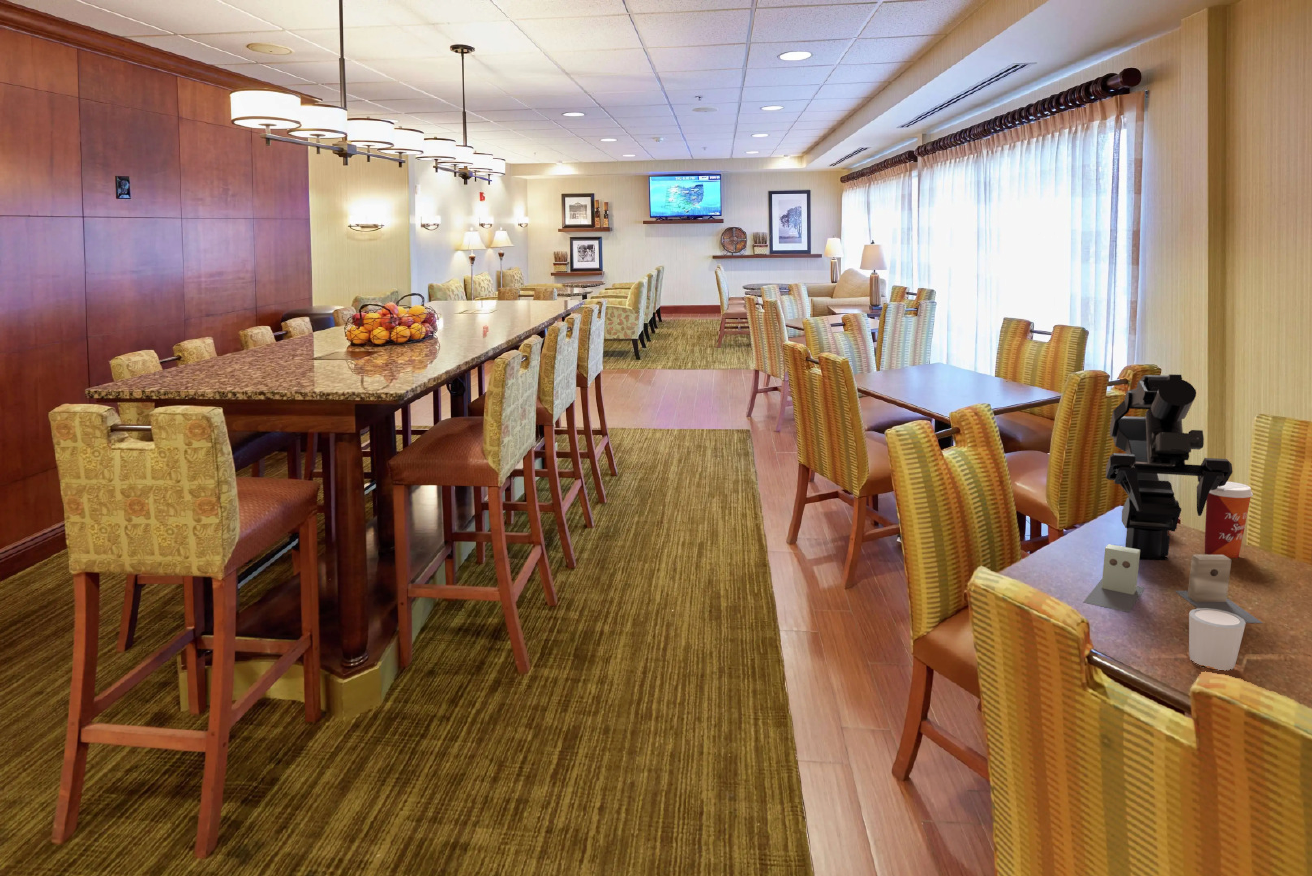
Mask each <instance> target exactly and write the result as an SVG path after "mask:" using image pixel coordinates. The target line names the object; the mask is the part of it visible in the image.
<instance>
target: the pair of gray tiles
mask: <svg viewBox="0 0 1312 876" xmlns="http://www.w3.org/2000/svg"><path fill="white" fill-rule="evenodd" d="M1145 590H1146V587H1145V586H1144V587H1143V586H1140V585H1137V588H1136V591H1135V593H1134V594H1133V595H1132V594H1127V593H1122V592H1118V591H1113V590H1108V589H1103V588H1102V578H1101V579H1100V580H1099V582H1098V583H1097V584H1096V585H1095V587H1093V588H1092V590H1091V591H1090V593H1088V595H1087V596H1086V598H1085V599H1084V600H1083V603H1084V604H1088V605H1093V606H1098V607H1102V608H1106V609H1112V610H1115V611H1120V612H1125V613H1130V612H1131V610H1132V609H1133V607H1134V606H1135V604H1136V603H1137V601H1138V600H1139V598H1140V597H1141V595H1142V593H1143V592H1144V591H1145ZM1174 592H1175V593H1176V594H1178V595H1179V596H1180V597H1182V598H1183V599H1184V600H1186V601H1187V602H1188V603H1190V604H1191V605H1192V606H1194V608H1195V609H1198V608H1210V609H1218V610H1222V611H1227V612H1230V613H1233V614H1235V615H1238V616H1239V617H1241V618H1242V619H1244V621H1245V622H1246V624H1263V622H1262V621H1261V620H1259V618H1256V617H1255V616H1253V615H1252V614H1250V612H1248V611H1246V610H1245V609H1244V608H1243V607H1241V606H1239V605H1238V604H1236V603H1235V602H1234V601H1232V600H1231V599H1229V598H1228V597H1227V600H1226V602H1195V601H1194V600H1192V599H1191V598H1190V597H1188V590H1174Z"/></svg>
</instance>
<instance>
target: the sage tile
mask: <svg viewBox="0 0 1312 876" xmlns="http://www.w3.org/2000/svg"><path fill="white" fill-rule="evenodd" d="M1139 558H1140V550H1139V549H1133V548H1127V547H1125V546H1121V545H1116V544H1109V543H1108V544H1107V545H1106V547H1105V548H1104V556H1103V567H1102V577H1101V579H1102V588H1103V589H1108V590H1113V591H1118V592H1122V593H1127V594H1132V595H1133V594H1134V593H1135V591H1136V588H1137V586H1138V576H1139V565H1140V560H1139Z"/></svg>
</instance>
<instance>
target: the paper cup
mask: <svg viewBox="0 0 1312 876" xmlns="http://www.w3.org/2000/svg"><path fill="white" fill-rule="evenodd" d="M1253 496H1254V494H1253V492H1252V487H1250V486H1249V485H1248V484H1244V483H1240V482H1235V481H1227V482H1226V484H1225V485H1224V486H1220V487H1219V486H1218V487H1217V489H1215V490H1210V492H1209V494H1208V497H1207V500H1206V503H1205V508H1206V509H1205V527H1204V529H1205V530H1204V554H1205V553H1206V554H1205V555H1207V554H1208V555H1225V556H1226V557H1228V558H1229V559H1239V556H1240V552H1241V548H1242V542H1243V538H1244V532H1245V528H1246V523H1247V518H1248V514H1249V513H1248V512H1249V508H1250V507H1249V506H1250V502H1251V498H1252V497H1253Z"/></svg>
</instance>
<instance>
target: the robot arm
mask: <svg viewBox="0 0 1312 876" xmlns="http://www.w3.org/2000/svg"><path fill="white" fill-rule="evenodd" d="M1136 384H1137V385H1136V388H1134V389H1129V390H1126V393H1125V396H1124V399H1123V401H1122V402H1120V404H1118V406H1116V407H1115V408H1114V409H1113V411H1112V414H1111V415H1112V416H1111V419H1110V424H1109V425H1110V426H1109V437H1110V438H1112V439H1113V443H1114V446H1115V447H1116V448H1118V449H1120V450H1121V451H1123V452H1124V453H1118V452H1117V453H1115V452H1112V454H1111V455H1109V458H1108V460H1107V463H1106V466H1105V479H1107V480H1108V481H1113V482H1114V484H1115V485H1119V486H1121V488H1122V489H1123V490H1124V492H1125V493H1126V494H1127V496H1128V497H1126V500H1125V502H1124V504H1123V507H1122V510H1121V523H1122V524H1123V526H1124V528H1125V529H1126V535H1125V545H1124V547H1127V548H1133V549H1139V550H1140V558H1139V561H1169V560H1170V558H1168V556H1169V551H1170V541H1171V536H1170V535H1169V531H1170V532H1174V533H1175V532H1176V530H1177V528H1178V522H1179V518H1180V516H1181V513H1182V507H1180V504H1179V500H1178V499H1177V500H1176V497H1175V492H1174V490H1173V486H1172V483H1171V482H1170V481H1169V480H1160V478H1159V476H1158V474H1159V475H1173V476H1174V475H1175V476H1191V477H1197V482H1198V484H1197V486H1196V512H1197V516H1198V517H1201V516H1202V514H1203V512H1204V509H1205V507H1206V502H1207V497H1208V494H1209V492H1210V490H1215V489H1217V487H1218V486H1219V487H1220V486H1224V485H1225V484H1226V482H1229V479H1230V477H1231V476H1232V474H1233V471H1234V470H1233V464H1232V463H1231V461H1229V460H1228V459H1227V458H1213V457H1211V458H1210V457H1204V458H1203V459H1202V462H1201V464H1186V461H1189V459H1190V453H1192V450H1201V449H1202V448H1204V443H1205V442H1204V441H1205V439H1204V438H1205V437H1204V430H1203V429H1191V430H1190V431H1188V433H1187V432H1183V420H1184V419H1185V418H1186V417H1187V415H1188V413H1189V411H1190V409H1191V407H1192V405H1193V403H1194V402H1195V398H1196V396H1197V390H1196V388H1195V387H1194V386H1193V384H1191V383H1190V382H1189V381H1187V380H1184V379H1183V377H1182V374H1173V373H1172V374H1168V375H1161V374H1158V375H1157V374H1155V375H1154V374H1144V375H1142V377H1141V378H1140V379H1139V380H1138V381H1137V382H1136ZM1130 410H1146V412H1145V416H1129V415H1127V414H1128V413H1129V412H1130ZM1126 415H1127V416H1126Z"/></svg>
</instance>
